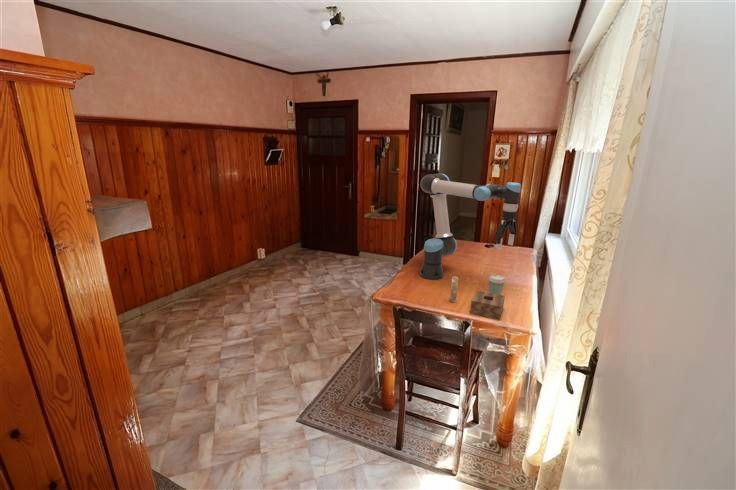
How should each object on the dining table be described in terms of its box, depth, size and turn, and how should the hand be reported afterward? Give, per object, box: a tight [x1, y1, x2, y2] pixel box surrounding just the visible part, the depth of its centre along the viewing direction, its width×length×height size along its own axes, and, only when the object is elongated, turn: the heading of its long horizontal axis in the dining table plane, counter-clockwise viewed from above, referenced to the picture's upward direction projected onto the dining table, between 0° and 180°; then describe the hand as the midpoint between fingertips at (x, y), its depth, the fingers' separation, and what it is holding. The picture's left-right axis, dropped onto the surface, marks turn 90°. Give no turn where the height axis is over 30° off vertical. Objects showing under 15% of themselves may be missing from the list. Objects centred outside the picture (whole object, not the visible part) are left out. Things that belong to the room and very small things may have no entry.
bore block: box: [469, 290, 506, 321], centre depth 170 cm, size 14×14×7 cm
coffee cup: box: [488, 274, 506, 295], centre depth 185 cm, size 8×9×12 cm
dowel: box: [449, 275, 459, 303], centre depth 179 cm, size 3×3×14 cm
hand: (504, 247), depth 192 cm, fingers open, 13 cm apart
